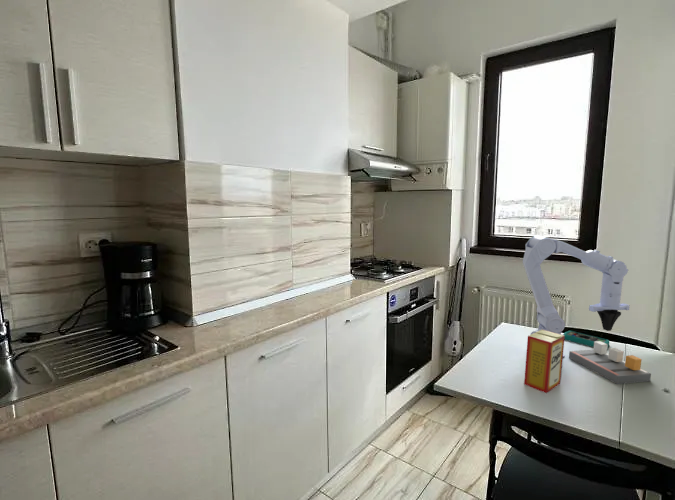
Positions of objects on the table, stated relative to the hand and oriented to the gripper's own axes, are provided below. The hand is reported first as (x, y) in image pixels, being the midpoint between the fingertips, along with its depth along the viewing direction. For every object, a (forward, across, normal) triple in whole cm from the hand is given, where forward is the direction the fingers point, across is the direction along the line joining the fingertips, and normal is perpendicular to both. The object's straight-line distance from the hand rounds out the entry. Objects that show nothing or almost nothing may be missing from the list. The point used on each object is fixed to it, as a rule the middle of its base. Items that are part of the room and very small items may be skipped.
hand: (606, 329), depth 129 cm
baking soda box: (+11, -36, -14) cm, 40 cm away
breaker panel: (+10, -7, -8) cm, 15 cm away
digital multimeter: (+11, +5, +14) cm, 18 cm away
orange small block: (+7, -4, -14) cm, 16 cm away
